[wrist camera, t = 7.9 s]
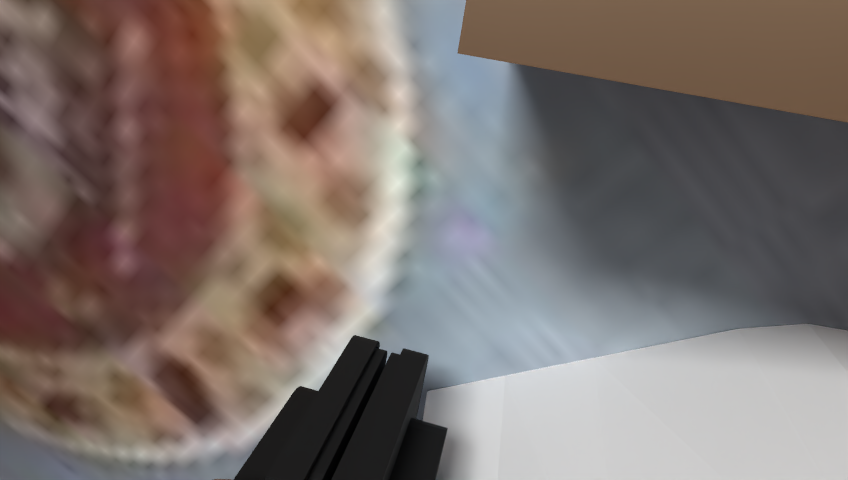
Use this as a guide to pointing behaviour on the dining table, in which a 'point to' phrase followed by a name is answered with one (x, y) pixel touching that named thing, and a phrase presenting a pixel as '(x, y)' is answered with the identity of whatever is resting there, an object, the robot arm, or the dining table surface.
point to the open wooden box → (679, 46)
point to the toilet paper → (660, 413)
